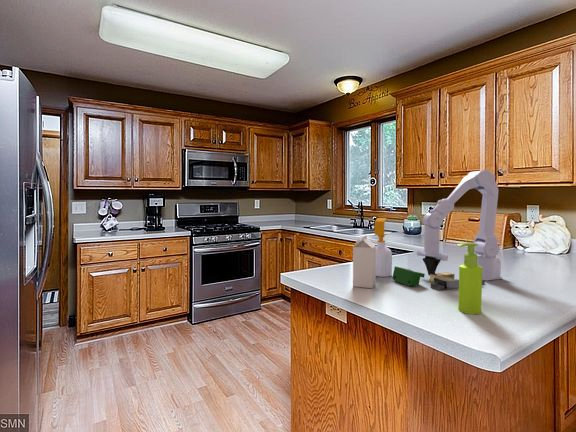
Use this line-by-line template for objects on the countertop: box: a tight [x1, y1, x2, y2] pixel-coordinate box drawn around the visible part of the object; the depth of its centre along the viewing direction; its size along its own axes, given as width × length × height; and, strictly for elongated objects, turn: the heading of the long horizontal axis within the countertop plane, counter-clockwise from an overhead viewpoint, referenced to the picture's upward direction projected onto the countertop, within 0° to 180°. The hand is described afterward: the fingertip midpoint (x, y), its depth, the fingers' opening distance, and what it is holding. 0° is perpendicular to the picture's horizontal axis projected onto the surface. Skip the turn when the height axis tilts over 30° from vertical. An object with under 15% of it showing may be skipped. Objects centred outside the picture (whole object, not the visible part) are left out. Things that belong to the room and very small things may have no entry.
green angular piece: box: [391, 266, 426, 288], centre depth 131 cm, size 12×6×9 cm, turn 15°
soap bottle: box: [374, 217, 393, 278], centre depth 144 cm, size 9×9×25 cm
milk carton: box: [352, 234, 377, 289], centre depth 127 cm, size 7×7×19 cm
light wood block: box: [429, 271, 455, 283], centre depth 133 cm, size 9×4×3 cm, turn 111°
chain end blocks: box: [430, 278, 486, 291], centre depth 127 cm, size 23×6×3 cm, turn 112°
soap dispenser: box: [456, 242, 483, 315], centre depth 98 cm, size 6×7×20 cm
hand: (431, 275), depth 138 cm, fingers closed
